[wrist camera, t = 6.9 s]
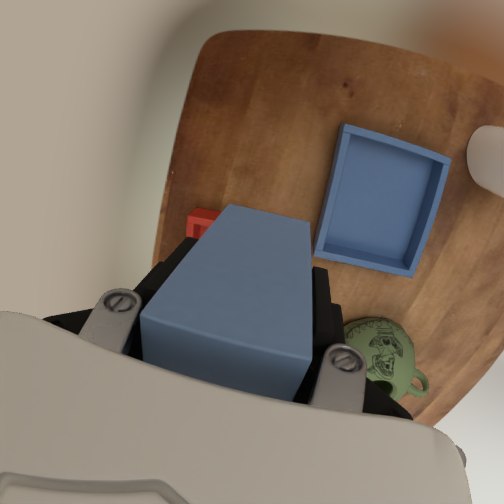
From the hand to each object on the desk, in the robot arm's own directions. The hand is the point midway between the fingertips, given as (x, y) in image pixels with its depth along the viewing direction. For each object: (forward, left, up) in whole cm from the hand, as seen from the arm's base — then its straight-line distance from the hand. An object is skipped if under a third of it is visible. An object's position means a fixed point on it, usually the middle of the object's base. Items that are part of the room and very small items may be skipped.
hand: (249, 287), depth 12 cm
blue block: (0, 0, -4) cm, 4 cm away
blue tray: (0, +10, -21) cm, 23 cm away
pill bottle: (-9, +23, -21) cm, 33 cm away
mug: (+20, +17, -21) cm, 34 cm away
